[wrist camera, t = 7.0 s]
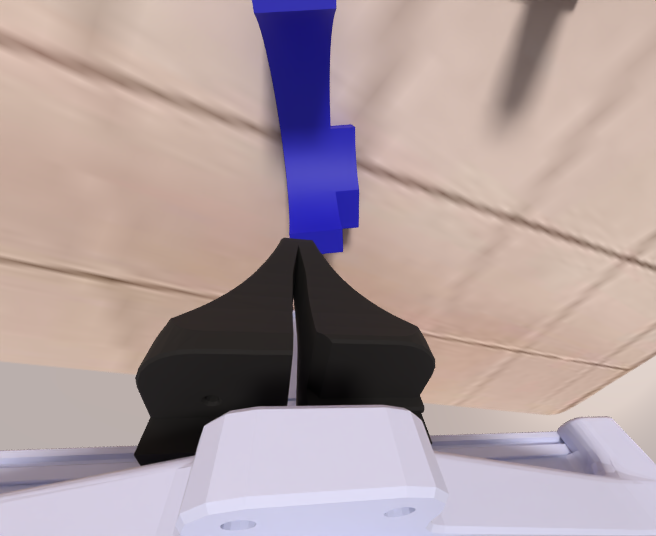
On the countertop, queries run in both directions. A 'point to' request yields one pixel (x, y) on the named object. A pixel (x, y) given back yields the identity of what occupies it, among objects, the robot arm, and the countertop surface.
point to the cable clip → (310, 121)
